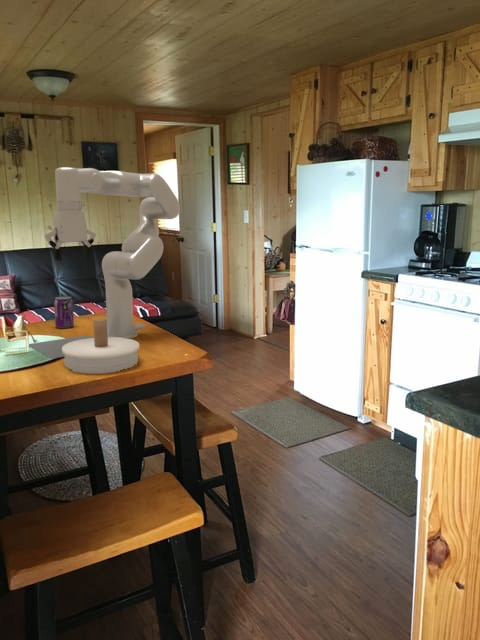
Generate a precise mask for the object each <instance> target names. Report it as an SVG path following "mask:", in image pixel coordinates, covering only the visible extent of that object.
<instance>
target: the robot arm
mask: <svg viewBox="0 0 480 640" xmlns="http://www.w3.org/2000/svg"><path fill="white" fill-rule="evenodd" d="M54 175H55V176H54V177H55V192H56V193H55V194H56V206H57V207H56V210H57V211H54V216H53V224H52V225H53V226H52V229H53V230H52V231H50V232H48V233H46V234H45V235H44V238H45V240H46V241H47V244H48V245H50V246H51V248H52V249H53V257H54V260H55V261H56V262H62V259H63V258H62V249H61V248H60V247H61V246H62V245H63V243H64V244H65V243H81V244H82V248H81V250H82V252H81V253H82V259H83V260H89V259H90V254H91V253H90V247H92V245H93V243H94V242H95V239H96V236H97V233H95V232H93V231H91V230H90V229H88V228H87V221H86V217H85V213H84V211H83V209H84V208H86V205H85V203H83V202H82V194H81V193H85V194H98V195H107V196H120V197H130V198H131V197H133V198H143V199H142V201H141V202H140V204H139V224H138V225H137V227H136V228H135V229H134V230H133V231H132V232H131V233H130V234H129V235H128V236H127V237H126V238H125V240H124V241H123V243H122V245H121V251H119V250H118V251H110V252H108V253H106V254H105V255H104V256H103V258H102V261H101V269H102V274H103V277H104V285H105V302H106V303H105V306H106V308H105V309H106V320H107V333H108V337H117V338H126V339H133V338H136V337H137V336H138V331H139V330H145V329H146V326H145V323H143V324H136V323H134V311H133V310H134V309H133V308H134V307H133V305H134V304H133V302H134V301H133V288H132V287H133V286H132V284H131V281H130V280H140V279H143V278H145V276H146V275H147V274H148V273H149V272H150V271H151V270H152V269H153V268H154V266H155V265H156V264H157V263H158V262H159V261H160V259H161V257H162V255H163V253H164V242H163V240H162V238H161V237H160V236H159V234H160V229H159V226H158V220H173V219H176V218H177V217H178V216H179V214H180V211H181V205H180V202H179V200H178V198H177V197H176V194H175V193H174V192H173V190H172V189H171V187H170V186H169V184H168V182H167V181H166V180H165V179H164V178H163V177H162V176H161V175H160V174H158V173H156V172H155V173H135V172H130V171H128V172H126V171H121V170H105V171H104V170H99V169H96V168H93V167H87V168H86V167H85V168H84V167H83V168H76V167H67V166H65V167H64V166H63V167H62V166H61V167H57V168H56V169H55V171H54ZM88 236H89V238H88ZM52 237H53V239H52Z"/></svg>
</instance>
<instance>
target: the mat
mask: <svg viewBox="0 0 480 640" xmlns="http://www.w3.org/2000/svg"><path fill="white" fill-rule="evenodd" d="M88 338H94V336H91V335H81V336H74V337H67V338H60V339H59V338H58V339H54V340H46V341H41V342H33V343H28V344H29V348H31V349H33V350H34V351H36V352H38V353H41V354H42V355H44V356H46V357H48V358H49V359H52V360H53V359H59V358H65V356H64V354H63V353H62V347H63V346H64V345H65V344H67V343H69V342H73V341H76V340H81V339H88Z"/></svg>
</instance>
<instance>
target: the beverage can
mask: <svg viewBox="0 0 480 640" xmlns="http://www.w3.org/2000/svg"><path fill="white" fill-rule="evenodd" d="M54 299H55V300H54V302H53V304H54V305H53V306H54V326H55V327H56V328H59V329H70V328H72V327H73V326H74V325H75V321H74V302H73V300H72V296H57V297H54Z"/></svg>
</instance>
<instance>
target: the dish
mask: <svg viewBox="0 0 480 640" xmlns="http://www.w3.org/2000/svg"><path fill="white" fill-rule="evenodd" d="M138 355H139V354H138V351H136V352H134V353H132V354H129V355H125V356H120V357H114V358H103V359H83V358H75V357H70V356H67V355H65V354H64V356H65V357H64V359H63V364H64V367H65V368H67V369H69V370H68V371H71V372H73V373H79V374H88V375H89V374H90V375H91V374H111V373H116V371H118V372H121V371H120V370H123V369H126V370H128V369H127V368H130V367H132V366H134V365H135V364H136V363H137V362H139V357H138ZM136 365H137V364H136ZM136 365H135V366H136ZM135 366H134V367H135ZM132 368H133V367H132ZM130 369H131V368H130ZM123 371H124V370H123Z"/></svg>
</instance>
